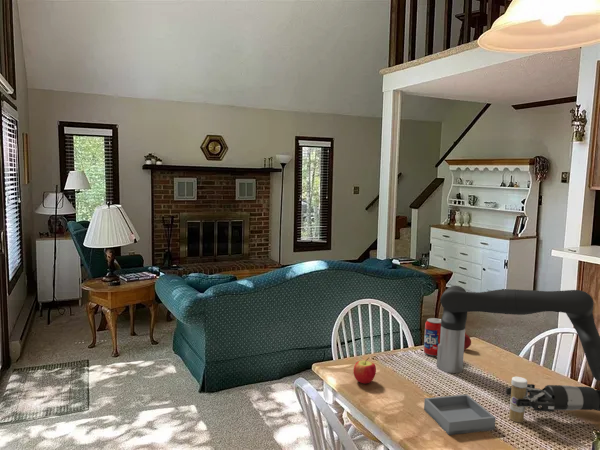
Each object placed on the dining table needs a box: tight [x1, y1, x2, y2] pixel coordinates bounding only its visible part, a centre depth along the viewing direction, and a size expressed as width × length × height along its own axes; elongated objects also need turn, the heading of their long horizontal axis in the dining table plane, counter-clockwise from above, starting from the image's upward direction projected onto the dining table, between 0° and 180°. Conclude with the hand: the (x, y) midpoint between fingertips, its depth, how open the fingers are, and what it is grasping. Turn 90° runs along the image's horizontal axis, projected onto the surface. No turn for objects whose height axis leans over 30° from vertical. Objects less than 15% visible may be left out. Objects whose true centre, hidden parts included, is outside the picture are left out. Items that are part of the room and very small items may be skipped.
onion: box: [464, 331, 472, 351], centre depth 215 cm, size 6×6×8 cm
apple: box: [353, 357, 377, 384], centre depth 180 cm, size 8×8×10 cm
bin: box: [423, 394, 496, 436], centre depth 154 cm, size 16×16×4 cm
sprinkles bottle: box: [508, 376, 528, 423], centre depth 155 cm, size 5×5×14 cm
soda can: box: [423, 317, 442, 357], centre depth 209 cm, size 8×8×15 cm
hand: (511, 396), depth 155 cm, fingers open, 7 cm apart
